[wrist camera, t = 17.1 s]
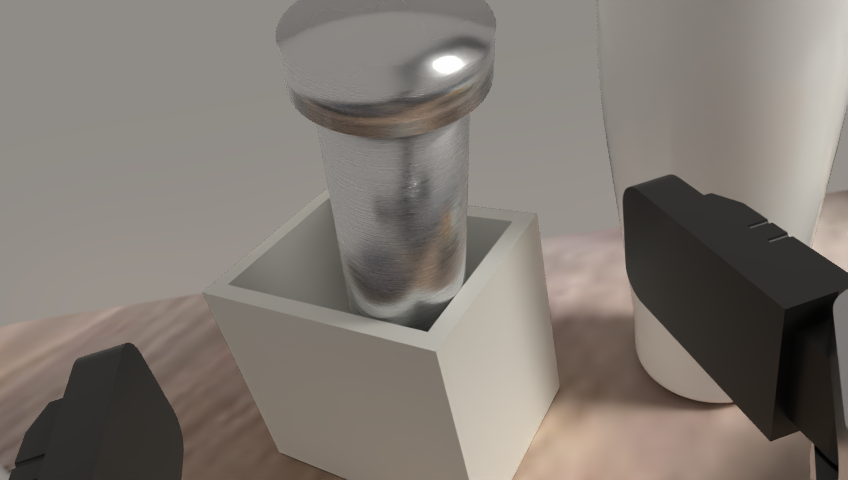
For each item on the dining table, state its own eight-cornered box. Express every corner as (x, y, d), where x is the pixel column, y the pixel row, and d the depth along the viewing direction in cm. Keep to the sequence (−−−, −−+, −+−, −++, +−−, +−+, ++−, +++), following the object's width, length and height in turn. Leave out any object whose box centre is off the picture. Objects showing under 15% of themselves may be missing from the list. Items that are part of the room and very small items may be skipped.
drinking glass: (588, 388, 26) (548, -11, 18) (655, 287, 30) (648, -74, 22) (781, 456, 22) (842, -21, 14) (828, 328, 26) (897, -96, 18)
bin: (374, 339, 31) (325, 189, 26) (559, 387, 26) (536, 213, 22) (279, 452, 26) (202, 292, 22) (483, 534, 21) (435, 351, 17)
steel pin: (413, 324, 27) (387, -44, 16) (500, 391, 25) (540, 17, 14) (328, 398, 25) (231, 30, 14) (416, 478, 23) (384, 117, 12)
